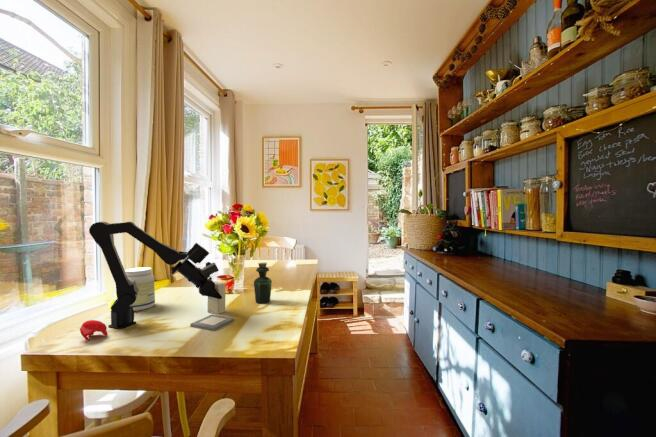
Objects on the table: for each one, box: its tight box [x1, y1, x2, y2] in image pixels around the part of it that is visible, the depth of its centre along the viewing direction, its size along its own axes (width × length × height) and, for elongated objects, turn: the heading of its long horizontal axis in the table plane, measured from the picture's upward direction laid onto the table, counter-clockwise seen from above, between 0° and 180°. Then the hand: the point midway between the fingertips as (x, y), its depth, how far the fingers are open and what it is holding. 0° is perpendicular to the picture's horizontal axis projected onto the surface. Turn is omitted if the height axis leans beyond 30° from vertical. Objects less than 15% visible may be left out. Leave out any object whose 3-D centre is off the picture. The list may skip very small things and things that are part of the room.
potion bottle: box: [253, 262, 273, 305], centre depth 144 cm, size 8×8×18 cm
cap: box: [79, 319, 108, 342], centre depth 105 cm, size 8×6×6 cm
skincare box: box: [207, 281, 227, 315], centre depth 131 cm, size 6×4×12 cm
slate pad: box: [189, 313, 235, 332], centre depth 118 cm, size 11×11×1 cm
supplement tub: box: [124, 266, 156, 312], centre depth 137 cm, size 12×12×17 cm
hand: (220, 295), depth 131 cm, fingers open, 8 cm apart
